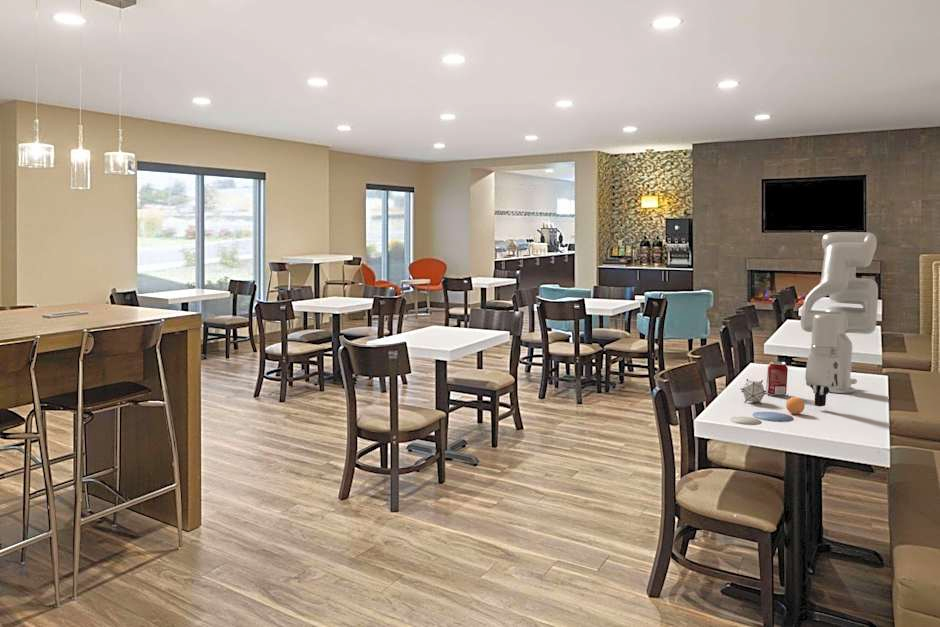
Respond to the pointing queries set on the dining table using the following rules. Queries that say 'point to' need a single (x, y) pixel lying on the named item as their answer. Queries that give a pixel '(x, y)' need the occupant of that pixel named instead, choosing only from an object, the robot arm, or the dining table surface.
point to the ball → (795, 405)
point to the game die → (753, 391)
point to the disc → (773, 416)
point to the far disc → (746, 420)
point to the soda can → (776, 378)
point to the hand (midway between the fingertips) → (819, 405)
